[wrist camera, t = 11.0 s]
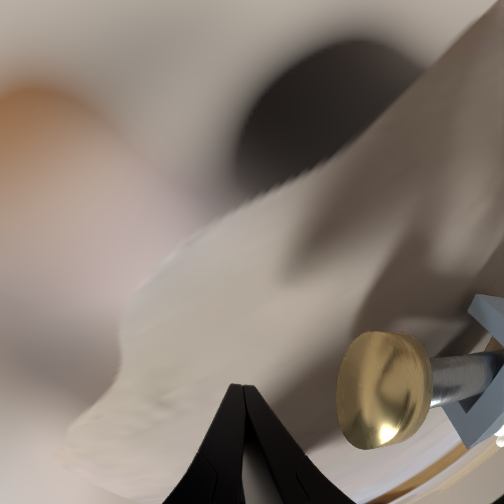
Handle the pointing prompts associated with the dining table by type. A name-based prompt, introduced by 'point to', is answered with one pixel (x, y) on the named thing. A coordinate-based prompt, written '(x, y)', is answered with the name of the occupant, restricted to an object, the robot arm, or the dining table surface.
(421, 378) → the shaft
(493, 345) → the block
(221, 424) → the robot arm
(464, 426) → the spacer
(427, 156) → the dining table surface
